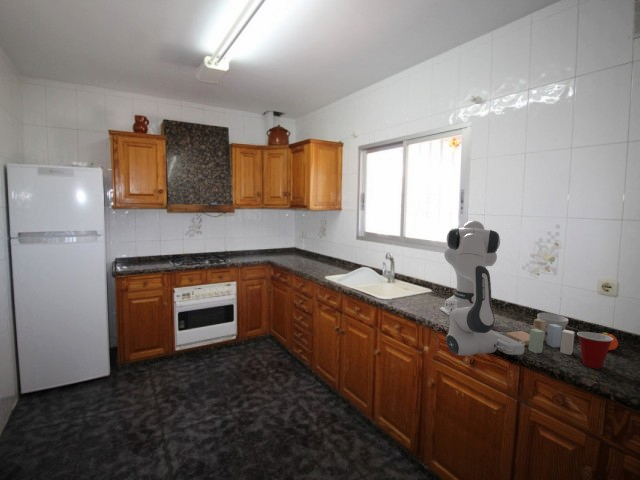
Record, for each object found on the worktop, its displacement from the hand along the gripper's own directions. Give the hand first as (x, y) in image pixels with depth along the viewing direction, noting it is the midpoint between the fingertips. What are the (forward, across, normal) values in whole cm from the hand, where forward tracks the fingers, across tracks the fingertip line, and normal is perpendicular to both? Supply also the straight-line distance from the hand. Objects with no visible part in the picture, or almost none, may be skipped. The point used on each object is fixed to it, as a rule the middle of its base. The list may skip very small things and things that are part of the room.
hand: (513, 338), depth 139 cm
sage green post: (+12, 0, +6) cm, 14 cm away
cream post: (+24, -4, +6) cm, 25 cm away
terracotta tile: (+17, +11, +6) cm, 22 cm away
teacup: (+41, +16, +6) cm, 45 cm away
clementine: (+45, -5, +6) cm, 46 cm away
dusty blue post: (+26, +3, +6) cm, 27 cm away
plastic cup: (+23, -15, +7) cm, 28 cm away
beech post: (+25, +10, +6) cm, 28 cm away
